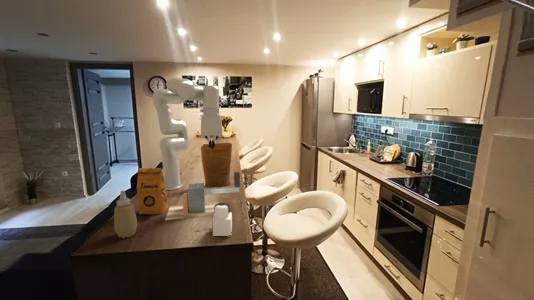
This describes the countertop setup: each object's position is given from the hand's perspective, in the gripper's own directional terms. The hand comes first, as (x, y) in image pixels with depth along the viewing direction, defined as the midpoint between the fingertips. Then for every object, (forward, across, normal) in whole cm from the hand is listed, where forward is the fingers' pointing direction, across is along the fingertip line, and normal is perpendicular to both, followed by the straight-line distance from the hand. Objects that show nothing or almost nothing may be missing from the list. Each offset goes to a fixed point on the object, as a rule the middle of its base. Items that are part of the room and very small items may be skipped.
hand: (211, 148), depth 123 cm
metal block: (+28, -7, -8) cm, 30 cm away
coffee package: (+30, -27, -4) cm, 41 cm away
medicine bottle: (+29, +3, -32) cm, 43 cm away
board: (+29, -9, -8) cm, 32 cm away
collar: (+28, -13, -8) cm, 32 cm away
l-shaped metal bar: (+20, +3, -8) cm, 22 cm away
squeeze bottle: (+30, -34, -24) cm, 51 cm away
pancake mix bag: (+30, +4, +30) cm, 43 cm away
